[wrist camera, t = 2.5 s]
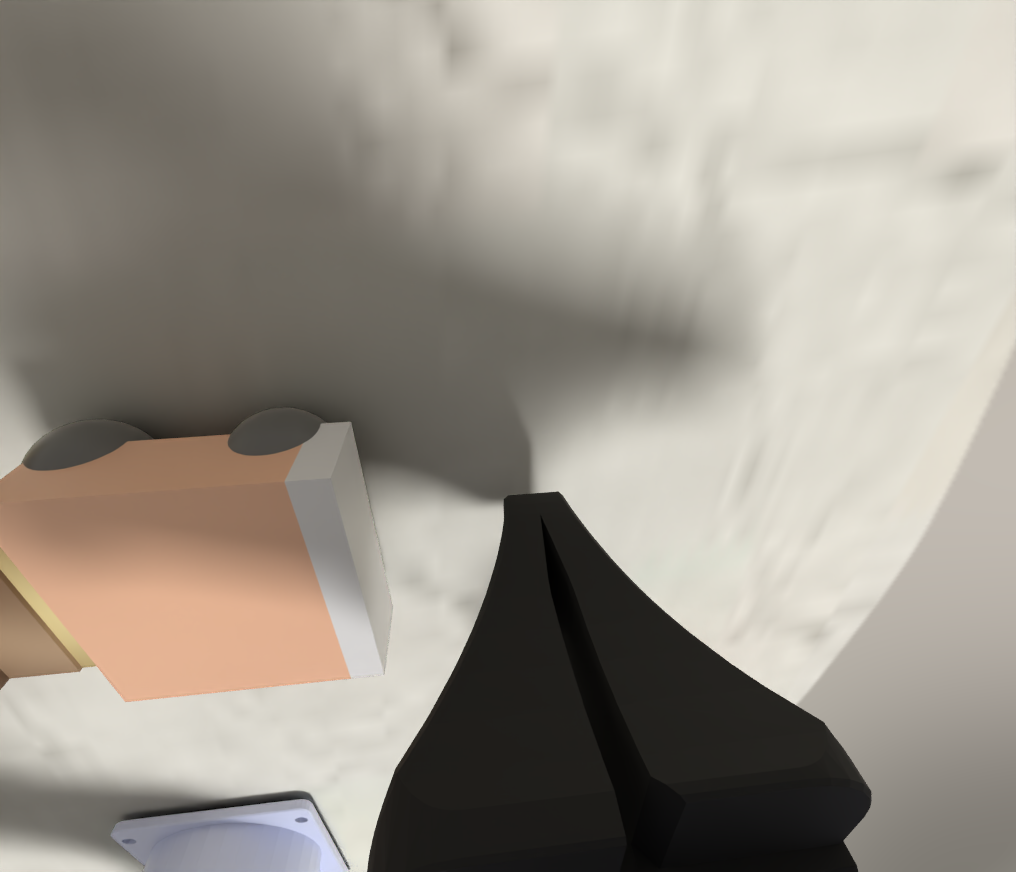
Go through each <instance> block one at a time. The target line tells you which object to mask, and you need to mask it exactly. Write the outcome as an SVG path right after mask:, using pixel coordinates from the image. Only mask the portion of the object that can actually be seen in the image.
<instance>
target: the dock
mask: <svg viewBox="0 0 1016 872" xmlns="http://www.w3.org/2000/svg"><path fill="white" fill-rule="evenodd" d="M93 666H96V665H95V664H94V662H93V661H92V660H91V659H90V657H89V656H88V655H87V654H86V652H85V651H84V650H83V649H82V647H81V646H80V645H79V644H78V643H77V641H76V640H75V639H74V638H73V636H72V635H71V634H70V633H69V631H68V630H67V629H66V628H65V626H64V625H63V624H62V623H61V621H60V620H59V619H58V618H57V617H56V615H55V614H54V613H53V612H52V610H51V609H50V608H49V607H48V605H47V604H46V603H45V602H44V600H43V599H42V598H41V597H40V596H39V594H38V593H37V592H36V591H35V589H34V588H33V587H32V586H31V584H30V583H29V582H28V581H27V579H26V578H25V577H24V576H23V575H22V573H21V572H20V571H19V570H18V568H17V567H16V566H15V565H14V563H13V562H12V561H11V560H10V558H9V557H8V556H7V555H6V553H5V552H4V551H3V550H2V549H1V547H0V690H1V688H2V687H3V686H4V685H5V684H6V682H7V681H8V680H9V679H10V678H19V677H29V676H40V675H50V674H60V673H70V672H80V670H81V669H82V668H83V667H93Z"/></svg>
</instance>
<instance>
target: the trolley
mask: <svg viewBox="0 0 1016 872" xmlns="http://www.w3.org/2000/svg"><path fill="white" fill-rule="evenodd" d="M0 547H1V549H2V550H3V551H4V552H5V553H6V555H7V556H8V557H9V558H10V560H11V561H12V562H13V563H14V565H15V566H16V567H17V568H18V570H19V571H20V572H21V573H22V575H23V576H24V577H25V578H26V579H27V581H28V582H29V583H30V584H31V586H32V587H33V588H34V589H35V591H36V592H37V593H38V594H39V596H40V597H41V598H42V599H43V600H44V602H45V603H46V604H47V605H48V607H49V608H50V609H51V610H52V612H53V613H54V614H55V615H56V617H57V618H58V619H59V620H60V621H61V623H62V624H63V625H64V626H65V628H66V629H67V630H68V631H69V633H70V634H71V635H72V636H73V638H74V639H75V640H76V641H77V643H78V644H79V645H80V646H81V647H82V649H83V650H84V651H85V652H86V654H87V655H88V656H89V657H90V659H91V660H92V661H93V662H94V664H95V665H96V666H97V667H98V668H99V670H100V671H101V672H102V673H103V675H104V676H105V677H106V678H107V680H108V681H109V682H110V683H111V685H112V686H113V687H114V688H115V689H116V691H117V692H118V693H119V694H120V696H121V697H122V698H123V699H124V701H125V702H131V701H140V700H150V699H159V698H169V697H178V696H188V695H197V694H207V693H217V692H226V691H236V690H245V689H255V688H264V687H274V686H284V685H293V684H303V683H312V682H322V681H331V680H341V679H351V678H360V677H370V676H379V675H384V674H385V667H386V659H387V651H388V643H389V635H390V627H391V619H392V611H393V605H392V600H391V596H390V591H389V587H388V583H387V578H386V574H385V569H384V565H383V561H382V556H381V552H380V547H379V543H378V539H377V534H376V530H375V525H374V521H373V516H372V512H371V508H370V503H369V499H368V494H367V490H366V486H365V481H364V477H363V472H362V468H361V464H360V459H359V455H358V450H357V446H356V442H355V437H354V433H353V428H352V424H351V422H337V423H326V422H325V421H324V420H322V419H321V418H319V417H318V416H316V415H314V414H312V413H310V412H308V411H304V410H301V409H297V408H289V407H280V408H271V409H267V410H264V411H261V412H259V413H256V414H254V415H252V416H250V417H248V418H247V419H246V420H244V421H243V422H242V423H240V424H239V425H238V426H237V427H236V429H235V430H234V431H233V432H232V433H231V434H229V435H214V436H199V437H184V438H170V439H155V440H154V439H153V438H152V437H151V436H149V435H148V434H147V433H145V432H144V431H142V430H140V429H138V428H136V427H134V426H131V425H129V424H126V423H123V422H119V421H113V420H103V419H92V420H82V421H78V422H73V423H69V424H66V425H64V426H61V427H59V428H56V429H54V430H52V431H51V432H49V433H48V434H46V435H44V436H43V437H42V438H40V439H39V440H38V441H37V442H36V443H35V444H34V445H33V446H32V447H31V448H30V449H29V451H28V452H27V453H26V455H25V457H24V459H23V461H22V463H21V465H19V466H18V467H17V468H15V469H14V470H13V471H11V472H10V473H9V474H7V475H6V476H5V477H3V478H2V479H1V480H0Z"/></svg>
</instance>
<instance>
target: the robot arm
mask: <svg viewBox="0 0 1016 872" xmlns="http://www.w3.org/2000/svg"><path fill="white" fill-rule="evenodd" d="M870 805H871V790H870V789H869V787H868V786H867V784H866V782H865V781H864V780H863V778H862V776H861V775H860V773H859V772H858V770H857V768H856V767H855V765H854V764H853V762H852V760H851V759H850V758H849V756H848V755H847V753H846V752H845V750H844V749H843V747H842V746H841V745H840V744H839V742H838V741H837V740H836V738H835V737H834V736H833V734H832V733H831V732H830V730H829V729H828V728H827V726H826V725H825V723H824V722H823V721H821V720H819V719H818V718H816V717H814V716H813V715H811V714H809V713H808V712H806V711H804V710H803V709H801V708H799V707H798V706H796V705H795V704H793V703H791V702H790V701H788V700H786V699H785V698H783V697H781V696H780V695H778V694H776V693H775V692H773V691H771V690H770V689H768V688H766V687H765V686H763V685H762V684H760V683H759V682H757V681H756V680H754V679H753V678H751V677H750V676H748V675H747V674H745V673H744V672H742V671H741V670H739V669H738V668H736V667H735V666H734V665H732V664H731V663H729V662H728V661H726V660H725V659H724V658H723V657H721V656H720V655H719V654H717V653H716V652H715V651H713V650H712V649H711V648H709V647H708V646H707V645H705V644H704V643H703V642H701V641H700V640H699V639H697V638H696V637H695V636H693V635H692V634H691V633H689V632H688V631H687V630H686V629H685V628H683V627H682V626H681V625H680V624H679V623H678V622H676V621H675V620H674V619H673V618H672V617H670V616H669V615H668V614H667V613H666V612H665V611H664V610H662V609H661V608H660V607H659V606H658V605H657V604H656V603H655V602H654V601H652V600H651V599H650V598H649V597H648V596H647V595H646V594H645V593H644V592H643V591H642V590H641V589H640V588H639V587H638V586H637V585H636V584H635V583H634V582H633V581H632V580H631V579H630V578H629V577H628V576H627V575H626V574H625V573H624V572H623V571H622V570H621V569H620V568H619V566H618V565H617V564H616V563H615V562H614V561H613V560H612V559H611V558H610V556H609V555H608V554H607V553H606V552H605V551H604V549H603V548H602V547H601V546H600V545H599V543H598V542H597V541H596V540H595V539H594V538H593V536H592V535H591V534H590V533H589V531H588V530H587V529H586V527H585V526H584V525H583V524H582V522H581V521H580V520H579V518H578V517H577V516H576V514H575V513H574V511H573V510H572V509H571V507H570V506H569V504H568V503H567V501H566V500H565V498H564V497H563V495H562V494H561V493H559V492H548V493H535V494H523V495H510V496H507V497H506V498H505V499H504V524H503V531H502V537H501V542H500V546H499V551H498V555H497V560H496V563H495V567H494V570H493V573H492V577H491V580H490V583H489V586H488V590H487V593H486V596H485V598H484V601H483V604H482V607H481V609H480V612H479V615H478V617H477V620H476V622H475V624H474V627H473V629H472V632H471V634H470V636H469V638H468V641H467V643H466V645H465V647H464V649H463V652H462V654H461V656H460V658H459V660H458V662H457V664H456V666H455V668H454V670H453V672H452V674H451V676H450V678H449V680H448V682H447V683H446V685H445V687H444V689H443V691H442V693H441V694H440V696H439V698H438V700H437V702H436V704H435V705H434V707H433V709H432V711H431V713H430V714H429V716H428V718H427V719H426V721H425V723H424V724H423V726H422V728H421V729H420V731H419V732H418V734H417V736H416V737H415V739H414V740H413V742H412V743H411V745H410V747H409V748H408V750H407V751H406V753H405V755H404V756H403V758H402V759H401V761H400V763H399V764H398V766H397V767H396V769H395V771H394V775H393V777H392V780H391V783H390V785H389V788H388V791H387V794H386V797H385V799H384V802H383V805H382V809H381V812H380V815H379V818H378V821H377V825H376V828H375V832H374V836H373V840H372V845H371V850H370V855H369V861H368V870H367V872H858V869H857V865H856V863H855V862H854V860H853V858H852V856H851V854H850V852H849V851H848V849H847V847H846V845H845V844H844V842H843V840H844V839H845V838H846V837H847V836H848V835H849V834H850V832H851V831H852V830H853V829H854V828H855V827H856V826H857V824H858V823H859V822H860V821H861V820H862V819H863V818H864V816H865V815H866V813H867V812H868V810H869V808H870ZM111 837H112V838H113V839H114V840H115V841H116V842H117V843H118V844H120V845H121V846H122V847H123V848H124V849H125V850H127V851H128V852H129V853H130V854H131V855H132V856H133V857H135V858H136V859H137V860H138V861H139V862H140V863H141V864H143V865H144V866H145V867H144V869H143V871H142V872H349V870H348V868H347V866H346V864H345V863H344V861H343V859H342V857H341V855H340V853H339V852H338V850H337V848H336V846H335V844H334V842H333V840H332V839H331V837H330V835H329V833H328V831H327V829H326V828H325V826H324V824H323V822H322V820H321V818H320V817H319V815H318V813H317V811H316V809H315V807H314V806H313V804H312V802H310V801H309V800H305V799H296V800H288V801H280V802H272V803H263V804H255V805H247V806H239V807H230V808H222V809H214V810H206V811H197V812H189V813H181V814H173V815H164V816H156V817H148V818H139V819H131V820H124V821H120V822H118V823H116V824H115V826H114V829H113V831H112V833H111Z"/></svg>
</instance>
